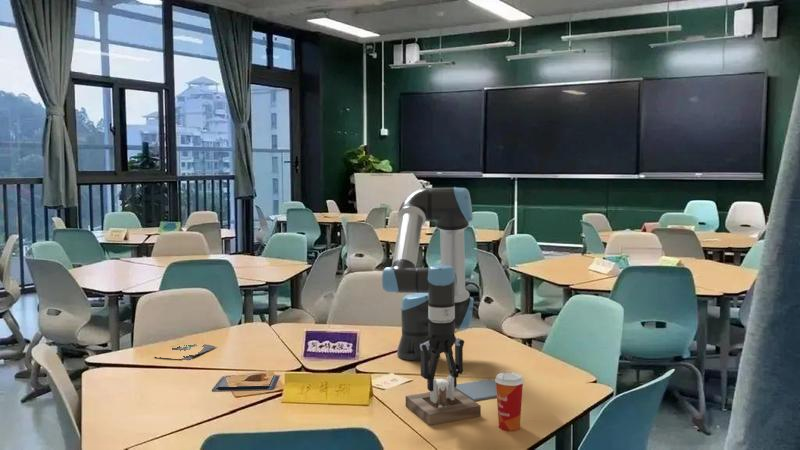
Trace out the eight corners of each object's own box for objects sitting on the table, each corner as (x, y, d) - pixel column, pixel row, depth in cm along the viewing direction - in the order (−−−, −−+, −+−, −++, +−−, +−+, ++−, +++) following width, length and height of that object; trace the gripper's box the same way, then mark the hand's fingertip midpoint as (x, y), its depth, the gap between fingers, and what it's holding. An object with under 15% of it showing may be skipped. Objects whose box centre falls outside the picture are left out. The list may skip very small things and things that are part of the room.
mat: (451, 386, 204) (451, 385, 204) (489, 380, 209) (489, 379, 209) (473, 401, 191) (473, 399, 191) (513, 394, 196) (513, 392, 196)
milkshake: (450, 414, 181) (450, 379, 180) (431, 412, 182) (432, 378, 181) (452, 408, 185) (452, 374, 184) (434, 407, 186) (434, 373, 185)
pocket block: (405, 405, 188) (405, 395, 187) (453, 397, 194) (453, 388, 194) (429, 425, 173) (429, 414, 173) (480, 415, 179) (480, 405, 179)
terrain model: (188, 362, 236) (187, 354, 236) (154, 359, 241) (154, 351, 240) (219, 348, 255) (219, 340, 255) (187, 345, 260) (187, 337, 260)
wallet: (209, 387, 202) (222, 372, 217) (210, 393, 202) (222, 378, 217) (273, 386, 202) (281, 371, 218) (273, 392, 203) (281, 377, 218)
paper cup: (491, 422, 175) (491, 372, 174) (519, 420, 175) (519, 371, 174) (498, 433, 167) (498, 381, 166) (527, 432, 168) (527, 380, 167)
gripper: (418, 326, 174) (419, 409, 176) (475, 319, 181) (476, 399, 183) (407, 320, 181) (408, 400, 183) (463, 314, 188) (463, 391, 190)
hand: (442, 399), depth 183 cm, fingers closed on milkshake, 5 cm apart
